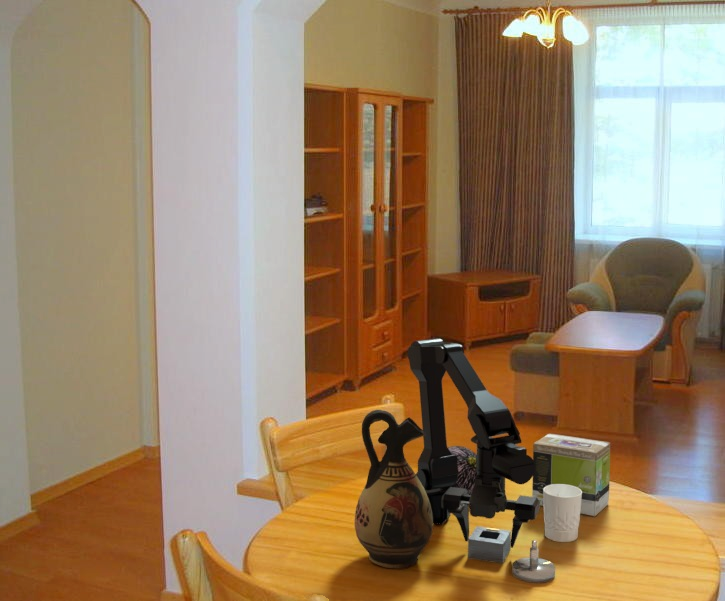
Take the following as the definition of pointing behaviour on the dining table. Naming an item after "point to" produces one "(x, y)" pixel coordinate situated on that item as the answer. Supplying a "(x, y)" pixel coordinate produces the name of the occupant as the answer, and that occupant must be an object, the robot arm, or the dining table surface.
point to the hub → (533, 567)
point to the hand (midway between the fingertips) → (489, 543)
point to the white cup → (562, 512)
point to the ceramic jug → (392, 498)
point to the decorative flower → (465, 467)
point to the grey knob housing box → (489, 544)
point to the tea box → (573, 468)
